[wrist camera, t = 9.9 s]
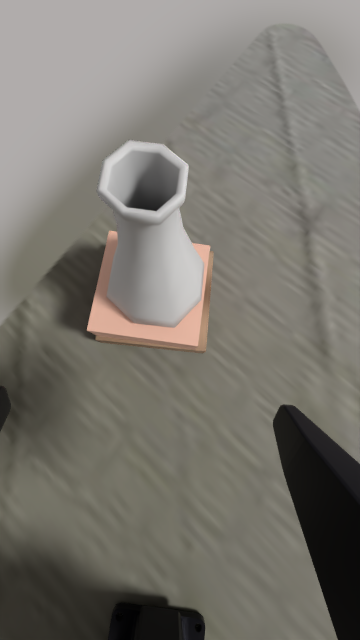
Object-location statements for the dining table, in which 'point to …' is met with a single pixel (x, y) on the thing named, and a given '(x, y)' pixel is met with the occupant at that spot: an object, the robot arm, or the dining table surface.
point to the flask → (150, 235)
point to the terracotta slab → (118, 325)
